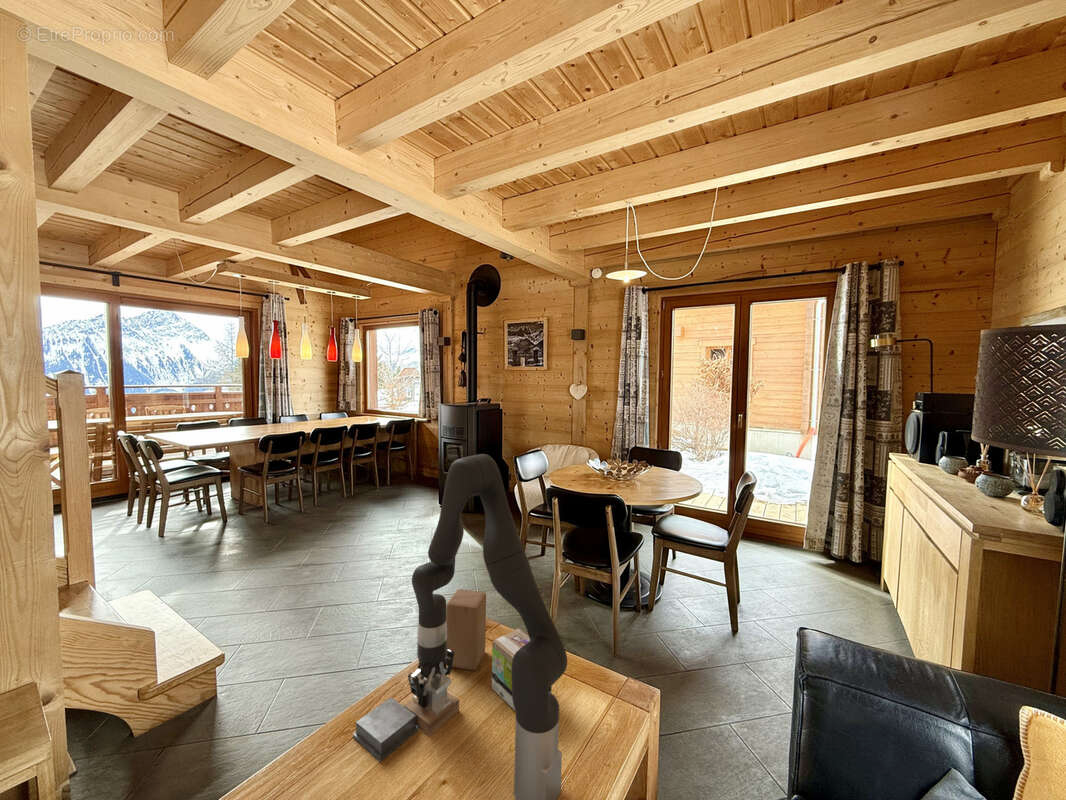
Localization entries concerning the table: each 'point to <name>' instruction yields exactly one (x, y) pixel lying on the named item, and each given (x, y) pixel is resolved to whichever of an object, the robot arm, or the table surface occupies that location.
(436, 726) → the stand
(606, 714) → the table surface
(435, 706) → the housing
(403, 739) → the stand
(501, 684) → the tea box
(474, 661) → the wooden block
